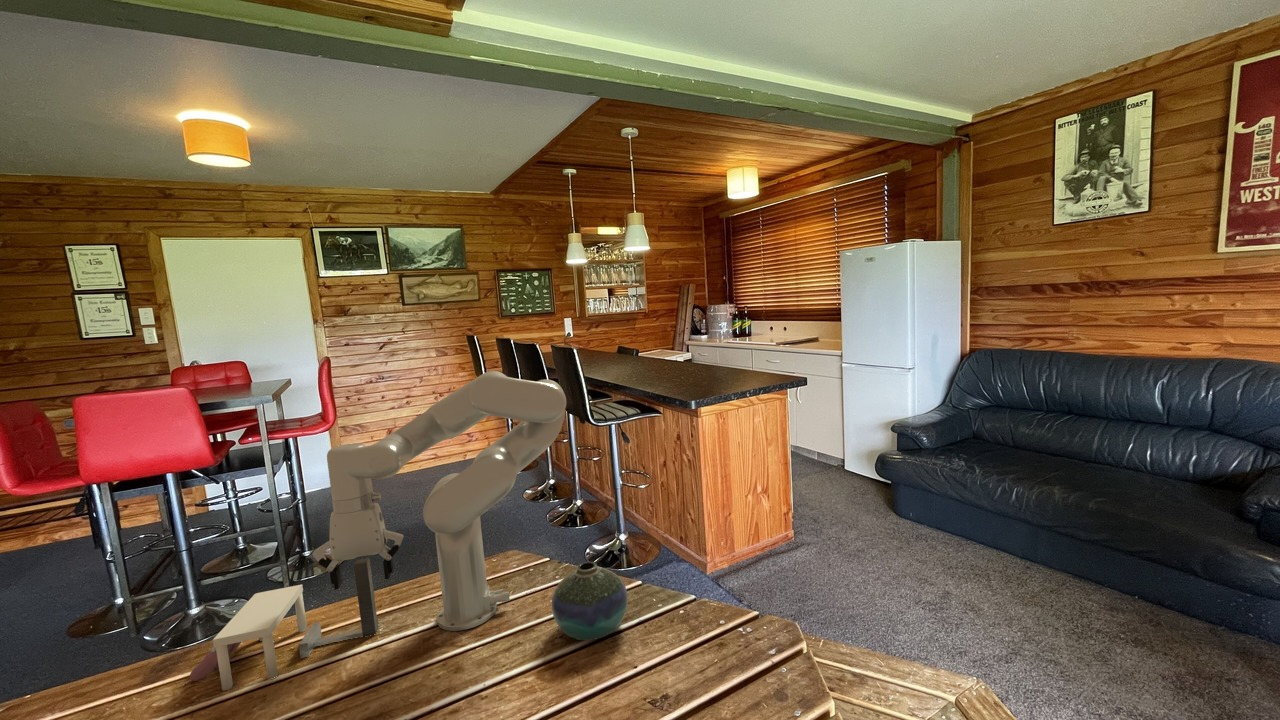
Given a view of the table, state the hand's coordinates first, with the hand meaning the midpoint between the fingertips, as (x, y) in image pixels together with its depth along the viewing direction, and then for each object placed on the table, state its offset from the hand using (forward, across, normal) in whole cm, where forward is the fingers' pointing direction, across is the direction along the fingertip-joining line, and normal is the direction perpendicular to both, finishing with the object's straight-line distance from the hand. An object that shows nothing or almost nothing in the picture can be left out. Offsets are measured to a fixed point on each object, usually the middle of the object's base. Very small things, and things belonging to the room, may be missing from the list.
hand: (363, 581), depth 110 cm
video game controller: (+12, +28, -1) cm, 30 cm away
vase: (+12, -45, +18) cm, 50 cm away
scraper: (+12, +5, 0) cm, 13 cm away
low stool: (+12, +19, 0) cm, 22 cm away
